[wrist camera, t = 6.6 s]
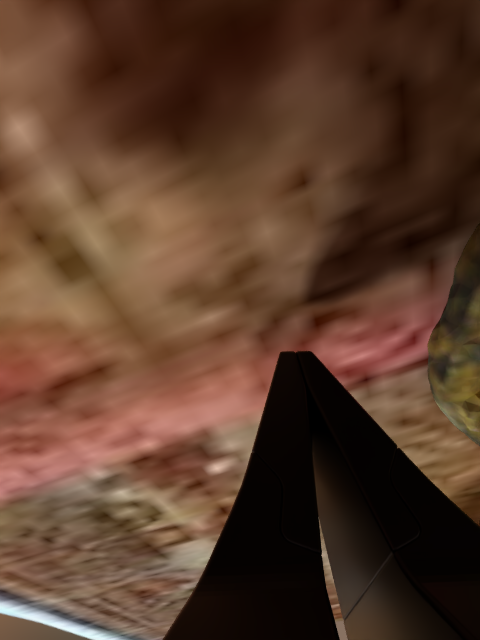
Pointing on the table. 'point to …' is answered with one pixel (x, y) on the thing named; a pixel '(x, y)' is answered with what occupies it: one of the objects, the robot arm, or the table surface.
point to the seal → (459, 346)
